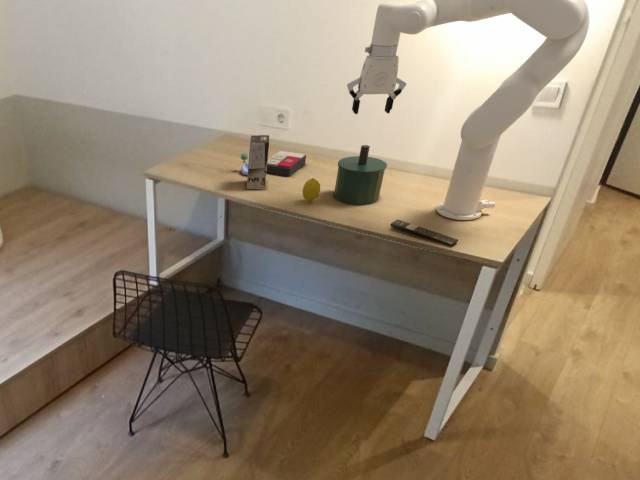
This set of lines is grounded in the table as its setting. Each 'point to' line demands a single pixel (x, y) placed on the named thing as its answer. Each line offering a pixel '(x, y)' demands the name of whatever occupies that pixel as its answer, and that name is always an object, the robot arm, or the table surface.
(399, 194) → the table surface
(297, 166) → the grey red flat block
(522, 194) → the table surface
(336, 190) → the tin
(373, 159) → the tin lid
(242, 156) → the figurine
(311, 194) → the lemon
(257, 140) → the coffee box
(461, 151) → the robot arm
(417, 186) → the table surface
